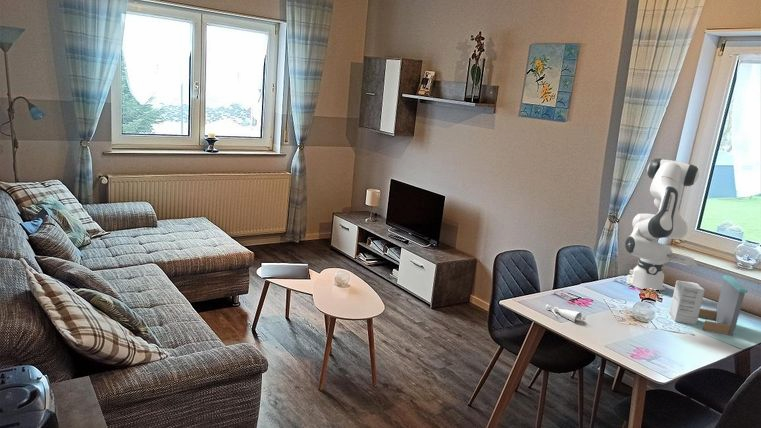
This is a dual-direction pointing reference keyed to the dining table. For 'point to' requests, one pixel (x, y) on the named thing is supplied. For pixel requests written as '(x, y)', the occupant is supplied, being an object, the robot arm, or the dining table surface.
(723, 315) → the display stand
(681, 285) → the supplement box
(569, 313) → the woman figurine
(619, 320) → the dining table surface
